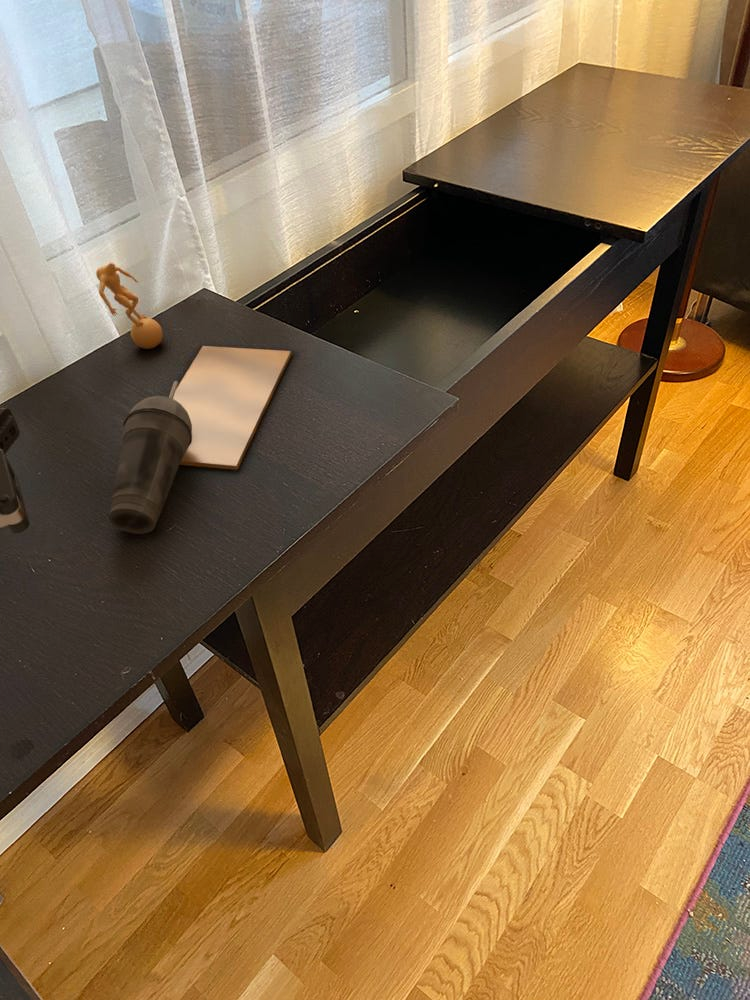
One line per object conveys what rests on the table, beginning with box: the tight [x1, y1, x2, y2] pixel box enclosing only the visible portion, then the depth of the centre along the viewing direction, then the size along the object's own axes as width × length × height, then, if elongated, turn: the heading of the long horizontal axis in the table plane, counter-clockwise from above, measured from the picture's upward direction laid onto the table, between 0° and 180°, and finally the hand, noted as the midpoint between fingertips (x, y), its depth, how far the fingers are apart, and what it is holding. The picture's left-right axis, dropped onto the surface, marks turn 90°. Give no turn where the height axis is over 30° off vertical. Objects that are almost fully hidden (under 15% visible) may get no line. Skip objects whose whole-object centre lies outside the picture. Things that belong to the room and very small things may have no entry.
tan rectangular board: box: [173, 345, 292, 471], centre depth 94 cm, size 22×12×1 cm, turn 169°
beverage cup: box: [108, 380, 192, 535], centre depth 83 cm, size 7×7×20 cm
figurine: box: [95, 262, 163, 350], centre depth 100 cm, size 8×6×12 cm
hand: (4, 417), depth 55 cm, fingers closed
